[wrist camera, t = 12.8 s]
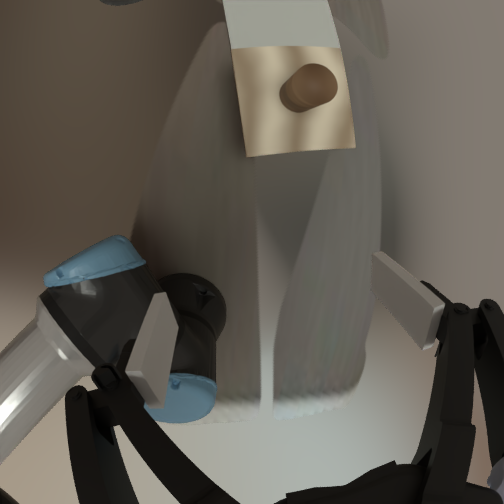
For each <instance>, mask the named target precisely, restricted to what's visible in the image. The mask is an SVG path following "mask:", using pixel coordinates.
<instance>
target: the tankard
mask: <svg viewBox="0 0 504 504" xmlns="http://www.w3.org/2000/svg"><path fill="white" fill-rule="evenodd" d="M100 1H101V2H103V3H105V4H108V5H115V6H120V5H127V4H132V3H136V2H139V1H141V0H100Z"/></svg>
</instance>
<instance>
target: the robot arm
mask: <svg viewBox="0 0 504 504" xmlns="http://www.w3.org/2000/svg"><path fill="white" fill-rule="evenodd" d="M43 279H44V285H45V286H46V287H48V288H47V289H46V290H45V291H44V292H43V293H42V294H41V295H40V296H39V297H38V298H37V307H36V316H35V318H34V319H33V320H32V321H31V322H30V323H29V324H28V325H27V326H26V327H25V328H24V329H23V330H22V331H21V332H20V333H19V334H18V335H17V336H16V337H15V338H14V339H13V340H12V341H11V342H10V343H9V344H8V345H7V346H6V347H5V349H4V350H2V352H1V353H0V465H1V463H2V462H3V461H4V460H5V459H6V458H7V457H8V456H9V454H10V453H11V452H12V451H13V450H14V449H15V448H16V447H17V446H18V444H19V443H20V442H21V441H22V440H23V439H24V438H25V437H26V436H27V435H28V433H29V432H30V431H31V430H32V429H33V428H34V427H35V426H36V425H37V424H38V423H39V422H40V421H41V419H42V418H43V417H44V416H45V415H46V414H47V413H48V412H49V411H50V410H51V409H52V408H53V407H54V406H55V405H56V404H57V403H58V401H60V399H61V398H62V397H63V396H64V395H65V394H66V395H65V410H66V411H65V412H66V426H67V437H68V446H69V453H70V460H71V466H72V472H73V477H74V482H75V487H76V491H77V495H78V500H79V503H80V504H139V502H138V500H137V497H136V495H135V492H134V490H133V487H132V485H131V482H130V479H129V476H128V474H127V471H126V468H125V465H124V462H123V459H122V456H121V453H120V449H119V446H118V442H117V439H116V435H115V431H114V427H113V426H117V425H120V426H121V428H122V429H123V431H124V432H125V434H126V436H127V437H128V439H129V440H130V441H131V443H132V444H133V446H134V447H135V449H136V450H137V452H138V453H139V454H140V456H141V457H142V458H143V460H144V461H145V462H146V463H147V465H148V466H149V467H150V469H151V470H152V471H153V473H154V474H155V475H156V476H157V478H158V479H159V480H160V481H161V482H162V484H163V485H164V486H165V487H166V488H167V489H168V490H169V492H170V493H171V494H172V495H173V496H174V497H175V498H176V499H177V501H178V502H179V503H180V504H240V503H239V502H237V501H236V500H235V499H234V498H232V497H231V496H230V495H229V494H228V493H226V492H225V491H224V490H223V489H221V488H220V487H219V486H218V485H216V484H215V483H214V482H213V481H212V480H211V479H210V478H208V477H207V476H206V475H205V474H204V473H203V472H202V471H201V470H200V469H199V468H198V467H197V466H196V465H195V464H194V463H193V462H192V461H191V460H190V459H188V457H187V456H186V455H185V454H184V453H183V452H182V451H181V450H180V449H179V448H178V447H177V446H176V445H175V444H174V442H173V441H172V440H171V439H170V438H169V437H168V436H167V435H166V433H165V432H164V431H163V430H162V429H161V428H160V427H159V425H158V424H157V423H156V422H155V421H159V422H166V423H187V422H192V421H196V420H199V419H201V418H203V417H205V416H206V415H207V414H209V413H210V411H211V410H212V408H213V407H214V404H215V398H216V391H217V384H216V341H217V339H218V338H219V336H220V334H221V332H222V330H223V328H224V326H225V322H226V305H225V301H224V298H223V296H222V295H221V293H220V292H219V290H218V289H217V288H216V287H215V286H214V285H213V284H211V283H210V282H209V281H207V280H205V279H203V278H201V277H198V276H195V275H191V274H174V275H170V276H167V277H165V278H163V279H161V280H159V281H158V282H157V281H156V279H155V277H154V276H153V274H152V273H151V271H150V270H149V268H148V266H147V265H146V261H145V260H144V259H142V258H141V256H140V255H139V254H138V252H137V251H136V249H135V248H134V246H133V245H132V243H131V242H130V241H129V240H128V239H127V238H126V237H124V236H121V235H114V236H111V237H108V238H106V239H104V240H102V241H100V242H98V243H96V244H94V245H92V246H90V247H89V248H87V249H85V250H83V251H81V252H79V253H78V254H76V255H74V256H72V257H71V258H69V259H67V260H66V261H64V262H62V263H61V264H59V265H58V266H56V267H55V268H54V269H52V270H50V271H48V272H47V273H46V274H45V275H44V278H43ZM370 290H371V291H372V292H373V293H374V295H375V296H376V297H377V298H378V299H379V300H380V301H381V302H382V304H383V305H384V306H385V307H386V308H387V309H388V310H389V311H390V313H392V315H393V316H394V317H395V318H396V320H397V321H398V322H399V323H400V324H401V325H402V327H403V328H404V329H405V330H406V331H407V333H408V334H409V335H410V336H411V337H412V339H413V340H414V341H415V342H416V343H417V345H418V346H419V347H420V348H421V350H422V351H423V350H425V349H428V348H430V347H432V346H433V345H434V341H435V339H436V338H437V339H438V340H439V341H440V342H439V345H438V348H437V351H436V354H435V357H436V356H437V360H436V368H435V375H434V381H433V388H432V393H431V398H430V403H429V408H428V412H427V416H426V421H425V425H424V428H423V432H422V436H421V439H420V443H419V447H418V449H417V452H416V454H415V456H414V458H413V460H412V462H411V464H399V465H397V464H396V462H395V460H394V461H392V462H389V463H387V464H384V465H382V466H379V467H377V468H375V469H372V470H370V471H368V472H367V473H365V474H363V475H362V476H360V477H359V478H357V479H355V480H354V481H352V482H350V483H348V484H346V485H343V486H333V487H314V488H310V489H305V490H301V491H296V492H291V493H286V498H285V499H283V500H280V501H278V502H276V503H274V504H504V314H503V312H502V310H501V309H500V307H499V305H498V304H497V303H496V302H495V301H493V300H491V299H483V300H482V301H481V302H480V305H479V308H474V309H470V308H469V307H468V306H467V305H465V304H462V303H454V304H453V303H452V302H451V301H450V300H448V299H447V298H446V297H445V296H444V295H443V294H441V293H439V291H438V290H437V289H435V288H434V287H433V286H432V285H431V284H429V283H427V282H425V281H419V280H417V279H416V278H415V277H414V276H412V275H411V274H410V273H409V272H408V271H406V270H405V269H404V268H403V267H401V266H400V265H399V264H398V263H396V262H395V261H394V260H393V259H391V258H390V257H389V256H387V255H386V254H385V253H383V252H382V251H381V252H376V253H372V271H371V288H370ZM474 368H475V372H476V375H477V380H478V384H479V388H480V393H481V398H482V403H483V408H484V414H485V421H486V427H487V435H488V445H489V453H490V460H491V464H492V470H491V474H490V476H489V477H488V479H487V484H488V486H490V488H487V487H482V486H479V485H475V484H472V483H468V482H466V480H467V476H468V472H469V467H470V462H471V458H472V452H473V447H474V440H475V433H476V427H475V425H472V424H471V418H472V409H473V394H474ZM83 376H91V378H92V381H93V382H94V383H95V385H96V386H97V388H98V389H95V390H92V391H87V390H86V388H84V387H83V386H80V385H78V386H74V385H75V384H76V383H77V382H78V381H79V380H80V379H81V378H82V377H83ZM73 386H74V387H73ZM154 420H155V421H154ZM0 504H19V503H18V502H17V501H16V500H15V499H13V498H12V497H11V496H10V495H9V494H8V493H6V492H5V491H4V490H3V489H1V488H0Z"/></svg>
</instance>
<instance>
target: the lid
mask: <svg viewBox="0 0 504 504" xmlns="http://www.w3.org/2000/svg"><path fill="white" fill-rule="evenodd" d="M231 57H232V63H233V70H234V77H235V83H236V90H237V97H238V104H239V110H240V117H241V124H242V131H243V138H244V145H245V152H246V157H254V156H260V155H269V154H278V153H287V152H298V151H310V150H323V149H340V148H356V146H355V136H354V127H353V119H352V111H351V104H350V97H349V91H348V85H347V79H346V74H345V68H344V63H343V58H342V54H341V49H340V48H332V47H316V46H264V47H249V48H237V49H231Z"/></svg>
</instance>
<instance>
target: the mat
mask: <svg viewBox="0 0 504 504" xmlns="http://www.w3.org/2000/svg"><path fill="white" fill-rule="evenodd" d="M222 1H223V6H224V11H225V17H226V22H227V28H228V33H229V39H230V44H231V49H237V48H249V47H264V46H316V47H332V48H340V44H339V40H338V36H337V32H336V29H335V25H334V21H333V18H332V14H331V11H330V8H329V4H328V1H327V0H222ZM341 54H342V53H341Z"/></svg>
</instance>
